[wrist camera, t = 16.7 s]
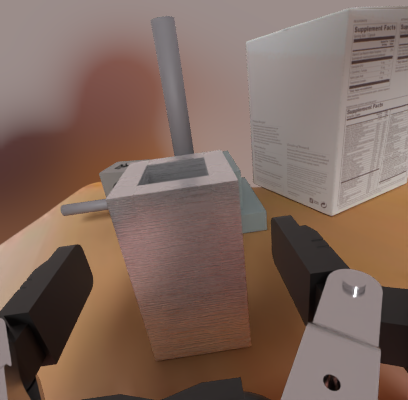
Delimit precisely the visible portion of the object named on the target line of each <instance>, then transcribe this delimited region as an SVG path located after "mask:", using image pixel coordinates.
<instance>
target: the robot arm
mask: <svg viewBox="0 0 408 400" xmlns="http://www.w3.org/2000/svg"><path fill="white" fill-rule="evenodd" d="M271 239H272V255H273V259H274V263H275V265H276V267H277V269H278V271H279V273H280V275H281V277H282V279H283V281H284V283H285V285H286V287H287V289H288V291H289V293H290V295H291V297H292V299H293V301H294V304H295V306H296V308H297V310H298V312H299V314H300V316H301V318H302V320H303V322H304V324H305V326H306V329H305V332H304V334H303V337H302V340H301V343H300V346H299V349H298V352H297V354H296V357H295V360H294V363H293V366H292V369H291V372H290V374H289V377H288V380H287V383H286V386H285V389H284V392H283V394H282V397H281V400H378V387H379V372H380V363H383V364H389V365H395V366H400V367H404V368H405V370H406V371H407V373H408V289H400V288H390V287H383V286H381V285H380V284H379V283H378V281H377V280H375V279H374V278H373V277H371V276H370V275H368V274H366V273H363V272H361V271H357V270H353V269H350V268H349V267H348V266H347V265H346V264H345V263H344V261H343V260H342V259H341V258H340V257H339V256H338V255H337V254H336V252H335V251H334V250H333V249H332V248H331V247H329V245H328V243H327V242H326V241H325V240H323V238H322V237H321V236H320V234H319V233H318V232H317V231H315V230H314V229H312V228H310V227H308V226H306V225H303V226H299V225H298V224H297V222H296V221H295V220H294V219H293V217H292V216H291V215H289V216H281V217H274V218H272V220H271ZM92 287H93V275H92V272H91V269H90V267H89V264H88V262H87V259H86V256H85V254H84V251H83V249H82V247H81V246H80V245H70V246H63V247H59V248H58V249H57V250H56V251H55V252H54V253H53V255H52V256H51V257H50V258H49V260H48V261H46V262H44V263H43V264H42V265H40V266H39V267H38V268H36V269H35V270H34V271H33V272H32V274H31V275H30V276H29V277H28V279H27V281H25V282H24V283H23V285H22V286H21V287H20V290H18V291H17V292H16V293H15V294H14V295H13V297H12V298H11V299H10V300H9V301H8V303H7V304H6V305H5V306H4V307H3V309H2V310H1V311H0V400H45V397H44V393H43V389H42V385H41V381H40V378H39V377H38V375H37V372H38V371H39V369H40V367H41V366H47V365H54V364H57V362H58V360H59V358H60V356H61V353H62V351H63V349H64V347H65V345H66V343H67V341H68V339H69V336H70V334H71V332H72V330H73V328H74V326H75V324H76V322H77V319H78V317H79V315H80V313H81V311H82V309H83V307H84V305H85V302H86V300H87V298H88V296H89V294H90V292H91V290H92ZM83 400H152V399H146V398H140V397H134V396H128V395H122V394H118V395H111V396H104V397H97V398H90V399H83ZM162 400H271V399H269V398H266V397H264V396H262V395H259V394H255V393H252V392H246V391H243V388H242V382H241V377H239V378H232V379H225V380H217V381H210V382H203V383H200V384H197V385H195V386H193V387H190V388H188V389H186V390H183V391H181V392H179V393H176V394H174V395H172V396H169V397H167V398H165V399H162Z"/></svg>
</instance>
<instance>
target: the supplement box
mask: <svg viewBox="0 0 408 400" xmlns="http://www.w3.org/2000/svg"><path fill="white" fill-rule="evenodd" d="M246 52H247V69H248V86H249V103H250V123H251V142H252V160H253V182H254V183H255V184H257V185H259V186H261V187H264V188H266V189H268V190H271V191H273V192H275V193H278V194H280V195H282V196H285V197H287V198H289V199H292V200H294V201H296V202H299V203H301V204H303V205H306V206H308V207H311V208H313V209H315V210H318V211H320V212H322V213H325V214H327V215H330V216H333V215H335V214H338V213H340V212H342V211H344V210H347V209H349V208H351V207H354V206H356V205H358V204H360V203H363V202H365V201H367V200H369V199H372V198H374V197H376V196H378V195H381V194H383V193H385V192H387V191H390V190H392V189H394V188H396V187H399V186H401V185H403V184H406V183H407V178H408V6H390V7H389V6H385V7H358V8H348V9H345V10H342V11H339V12H336V13H333V14H329V15H327V16H323V17H320V18H317V19H314V20H311V21H308V22H305V23H302V24H298V25H296V26H292V27H289V28H286V29H283V30H281V31H278V32H275V33H272V34H268V35H265V36H263V37H259V38H256V39H253V40H250V41H247V42H246Z"/></svg>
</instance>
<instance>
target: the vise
mask: <svg viewBox="0 0 408 400" xmlns="http://www.w3.org/2000/svg"><path fill="white" fill-rule="evenodd" d="M151 25H152V31H153V37H154V41H155V48H156V54H157V59H158V64H159V70H160V76H161V82H162V87H163V93H164V99H165V104H166V110H167V115H168V121H169V127H170V132H171V138H172V144H173V149H174V155H175V156H182V155H189V154H194V151H193V144H192V137H191V130H190V123H189V116H188V110H187V103H186V96H185V89H184V82H183V75H182V68H181V62H180V55H179V48H178V42H177V34H176V27H175V21H174V18H173V17H170V16H166V17H158V18H155V19H152V20H151ZM222 153H223V154H224V156H225V158H226V160H227V161H228V163H229V165H230V167H231V168H232V170H233V172H234V174H235V175H236V177H237V179H238V184H239V197H240V210H241V222H242V233H248V232H254V231H261V230H267V215H266V210H265V209H264V207H263V205H262V204H261V202H260V201H259V199H258V198H257V196H256V194H255V193H254V191H253V190H252V188H251V187H250V185H249V183H248V182H247V180H246V179H245V177H242V178H241V172H240V170H239V168H238V166H237V165H236V163H235V162H234V160H233V159H232V157H231V155H230V154H229V152H228V151H223V152H222ZM102 210H109V209H108V206H107V203H106V199H102V200H95V201H88V202H81V203H74V204H67V205H62V206H61V213H62V215H64V216H67V215H74V214H81V213H88V212H95V211H102Z"/></svg>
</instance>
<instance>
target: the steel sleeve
mask: <svg viewBox="0 0 408 400" xmlns="http://www.w3.org/2000/svg"><path fill="white" fill-rule="evenodd" d="M106 203H107V206H108V209H109V212H110V215H111V219H112V222H113V225H114V228H115V231H116V235H117V238H118V241H119V244H120V248H121V251H122V254H123V257H124V260H125V264H126V267H127V270H128V273H129V276H130V280H131V283H132V286H133V289H134V292H135V296H136V299H137V302H138V305H139V309H140V312H141V315H142V318H143V321H144V325H145V328H146V331H147V334H148V337H149V341H150V344H151V347H152V350H153V353H154V357H155V360H156V361H160V360H166V359H173V358H179V357H186V356H193V355H199V354H206V353H212V352H219V351H225V350H232V349H238V348H245V347H251V338H250V325H249V312H248V299H247V287H246V274H245V261H244V248H243V235H242V222H241V210H240V197H239V184H238V179H237V177H236V175H235V174H234V172H233V170H232V168H231V167H230V165H229V163H228V161H227V160H226V158H225V156H224V154H223V153H222V151H221V150H217V151H210V152H203V153H196V154H189V155H182V156H175V157H168V158H161V159H154V160H147V161H140V162H133V163H130V165H129V166H128V167H127V169H126V170H125V172H124V173H123V175H122V176H121V178H120V179H119V181H118V182H117V183H116V185H115V186H114V188H113V189H112V191H111V192H110V194H109V195H108V197H107V198H106Z"/></svg>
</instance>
